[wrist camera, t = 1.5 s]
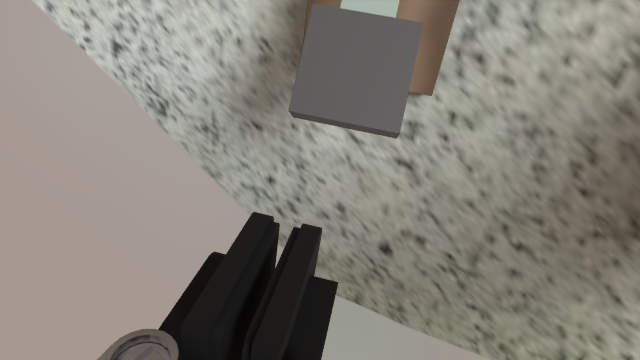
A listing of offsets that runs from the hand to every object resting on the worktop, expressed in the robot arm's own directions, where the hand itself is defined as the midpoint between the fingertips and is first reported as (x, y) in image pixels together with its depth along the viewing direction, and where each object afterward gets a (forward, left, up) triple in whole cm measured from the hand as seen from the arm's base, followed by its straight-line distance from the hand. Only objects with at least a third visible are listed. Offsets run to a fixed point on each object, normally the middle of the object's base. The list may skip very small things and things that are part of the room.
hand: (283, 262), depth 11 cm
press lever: (0, -7, -18) cm, 19 cm away
